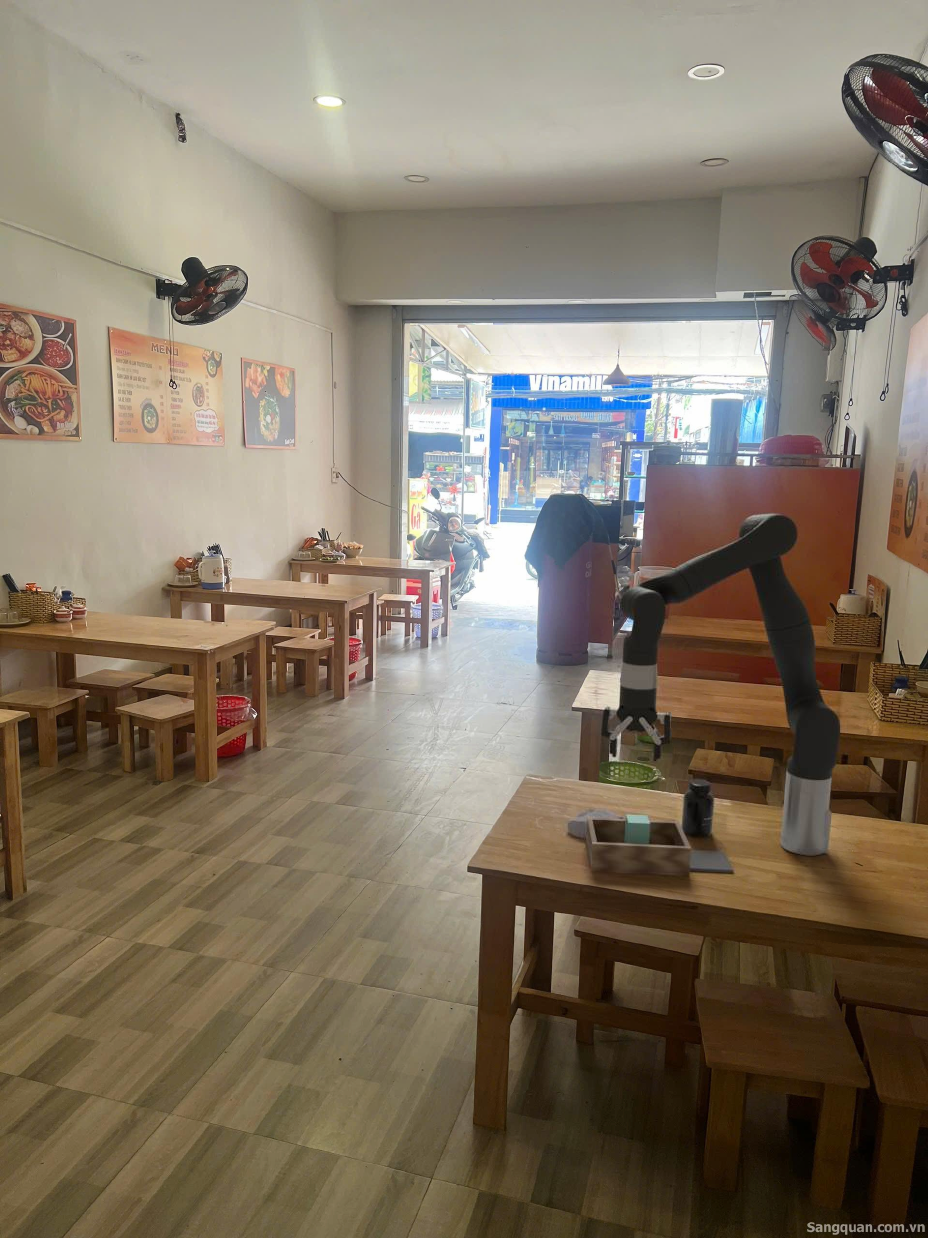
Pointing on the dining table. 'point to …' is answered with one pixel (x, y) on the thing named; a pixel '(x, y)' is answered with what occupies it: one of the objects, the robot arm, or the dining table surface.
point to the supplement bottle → (698, 809)
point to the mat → (710, 861)
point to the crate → (637, 848)
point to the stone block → (580, 822)
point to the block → (637, 829)
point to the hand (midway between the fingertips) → (634, 758)
